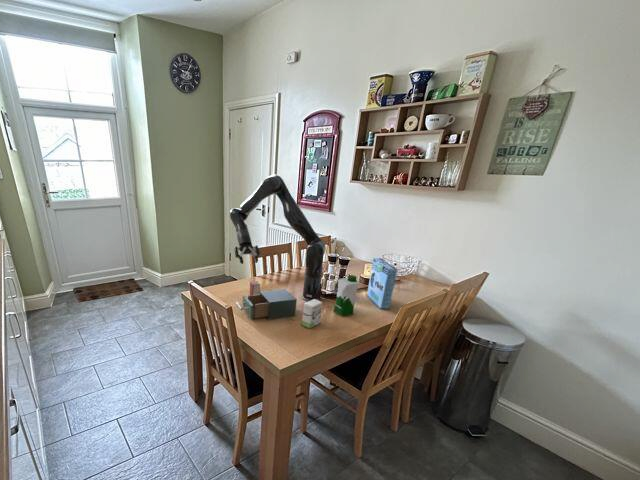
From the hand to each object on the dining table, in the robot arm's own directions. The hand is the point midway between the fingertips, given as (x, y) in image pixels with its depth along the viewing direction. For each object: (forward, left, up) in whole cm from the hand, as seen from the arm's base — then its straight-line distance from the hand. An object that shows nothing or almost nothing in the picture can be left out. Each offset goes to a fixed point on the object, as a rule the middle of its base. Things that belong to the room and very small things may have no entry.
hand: (249, 262), depth 188 cm
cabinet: (-6, +28, -18) cm, 34 cm away
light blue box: (-67, +31, -19) cm, 76 cm away
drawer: (+6, +28, -17) cm, 34 cm away
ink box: (-17, +45, -19) cm, 52 cm away
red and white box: (0, +10, -18) cm, 21 cm away
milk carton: (-40, +38, -19) cm, 58 cm away
